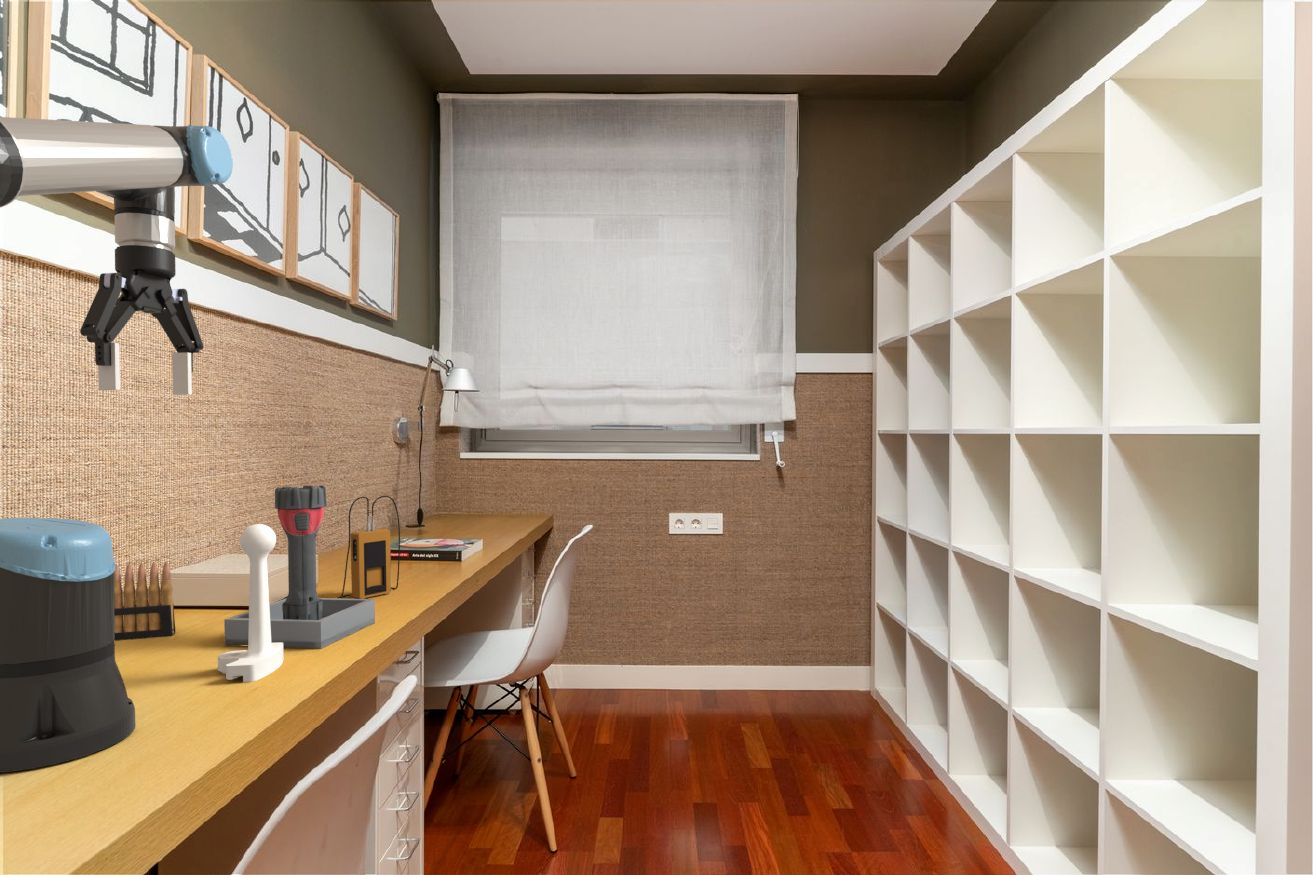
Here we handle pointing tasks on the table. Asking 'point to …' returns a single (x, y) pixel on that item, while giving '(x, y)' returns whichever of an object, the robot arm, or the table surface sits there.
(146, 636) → the ammunition clip
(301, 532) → the flashlight
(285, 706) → the table surface
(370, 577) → the multimeter
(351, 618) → the tray
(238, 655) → the joystick
